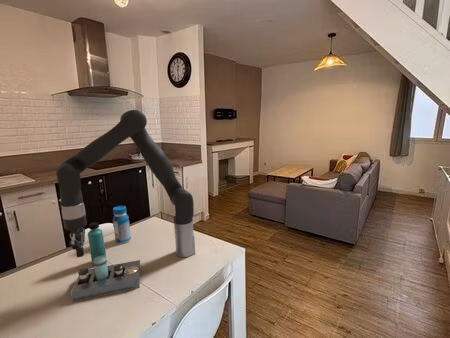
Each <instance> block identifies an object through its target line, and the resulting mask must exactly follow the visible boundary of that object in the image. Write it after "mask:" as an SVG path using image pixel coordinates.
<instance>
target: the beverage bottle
mask: <svg viewBox="0 0 450 338" xmlns="http://www.w3.org/2000/svg"><path fill="white" fill-rule="evenodd" d="M99 227H100V226H99V222H91V223H90V224H88V229H89V231H88V233H87V238H88V245H89V250H90V251H89V254H90V257H91V258H90V259H91V262H92V263H94V261H93V259H94V258H95V257H97V256H101V255H105V256H106V257H107V254H106V253H107V252H106V248H105V240H104V239H105V238H104V235H103V230H102V229H100V228H99Z"/></svg>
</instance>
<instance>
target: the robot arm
mask: <svg viewBox="0 0 450 338" xmlns="http://www.w3.org/2000/svg"><path fill="white" fill-rule="evenodd" d="M119 120H120V121H118V123H116V125H115V126H114V127H112V128H111V129H110V130H108V131H107V132H105V133H104V134H102V135H101V136H99V137H97V138H96V139H94V140H93V141H91V142H89V144H87V145H86V146H84V147H83V148H81V150H80V151H78V152H77V153H76V154H75V155H73V156H71V157H70V158H67V160H65V161H63V162H62V163H60V164H59V166H57V168H56V171H55V176H56V179H57V182H58V183H57V184H58V187H59V195H60V204H61V216H62V223H63V229H65V230H67V231H70V233H69V238H70V239H71V240H70V241H68V245H69V246H70V247H71V249H72V250H75V253H76V254H75V255H76V258H83V257H84V255H85V250H84V243H85V239H86V226H87V224H88V221H87V213H86V208H85V204H84V199H83V198H84V197H83V192H82V190H81V189H82V188H81V187H82V185H81V183H82V182H81V181H82V180H81V174H82V173H83V172H84V171H85V170H86V169H88V168H91V167H93V166H94V165H96V164H97V163H98V162H99V161H101V160H102V159H103V158H104V157H106V156H107V155H108V154H109V153H110V152H112V151H113V150H114V149H115V148H117V147H118V146H119V145H120V144H121V143H123V142H125V141H126V140H127V139H129V138H130V139H131V140H132V141H133V143H134V144H135V146H136V147H137V148H138V151H139V153H140V155H141V156H142V158H143V159H144V161H145V164H147V166H148V168H149V169H150V172H152V174H153V175H154V176H155V178H156V179H157V181H158V182H159V183H160V184H161V185H162V186H163V188H164V190H165V192H166V194H167V195H168V198H169V200H170V202H171V203H172V206H174V208H175V209H174V210H175V213H174V214H175V215H174V216H173V227H174V239H175V252H176V253H175V254H176V256H177V257H180V258H188V257H191V256H192V255H196V243H195V241H196V240H195V239H196V238H195V235H194V222H193V221H194V219H193V217H194V212H195V211H194V210H195V209H194V208H195V207H194V198H193V195H192V193H191V192H190V191H187V189H185V188H184V187H183V186H182V184H181V183H180V182H179V180H178V178H177V177H176V174H175V171H174V168H173V166H172V163H171V161H170V160H169V158H168V156H167V154H166V153H165V151H164V150H163V149H162V147H160V146H159V145H158V144H157V143H156V141H154V139H153V138H152V137H151V136H150V134H149V132H148V131H147V129H146V126H147V124H148V122H147V121H148V120H147V117H146V114H145V113H143V112H142V111H140V110H138V109H130V110H127V111H125V112H123V113H122V115H121V116H120V119H119Z"/></svg>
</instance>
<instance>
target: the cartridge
mask: <svg viewBox="0 0 450 338" xmlns="http://www.w3.org/2000/svg"><path fill="white" fill-rule="evenodd" d="M93 261H94V262H93V267H94V268H95V274H96V281H100V280H105V279H109V275H108V268H107V266H108V262H107V261H108V260H107V255H106V256H105V255H101V256H97V257H95V258H94V259H93Z"/></svg>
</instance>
